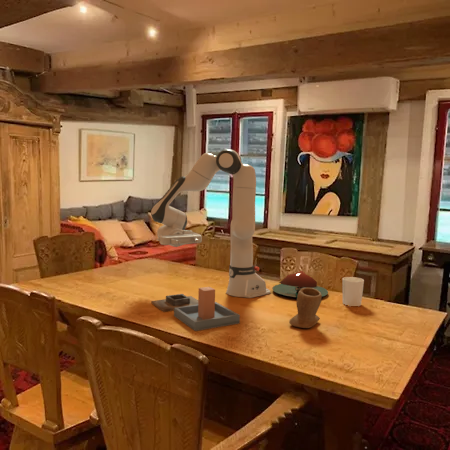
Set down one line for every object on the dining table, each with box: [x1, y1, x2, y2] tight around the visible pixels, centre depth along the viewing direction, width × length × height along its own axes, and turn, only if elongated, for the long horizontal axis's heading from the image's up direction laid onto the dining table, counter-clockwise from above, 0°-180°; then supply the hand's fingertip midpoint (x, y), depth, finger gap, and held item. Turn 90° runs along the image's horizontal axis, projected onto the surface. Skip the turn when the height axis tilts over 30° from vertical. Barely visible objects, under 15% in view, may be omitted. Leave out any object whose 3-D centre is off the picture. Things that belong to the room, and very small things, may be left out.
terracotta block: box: [197, 286, 216, 320], centre depth 192 cm, size 5×5×12 cm
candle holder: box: [342, 276, 365, 307], centre depth 219 cm, size 10×10×12 cm
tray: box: [173, 301, 241, 332], centre depth 192 cm, size 20×20×4 cm
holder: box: [150, 293, 198, 313], centre depth 212 cm, size 20×14×4 cm
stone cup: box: [288, 288, 323, 329], centre depth 189 cm, size 15×12×15 cm
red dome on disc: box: [272, 270, 329, 298], centre depth 236 cm, size 28×28×11 cm
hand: (187, 241), depth 214 cm, fingers open, 8 cm apart
